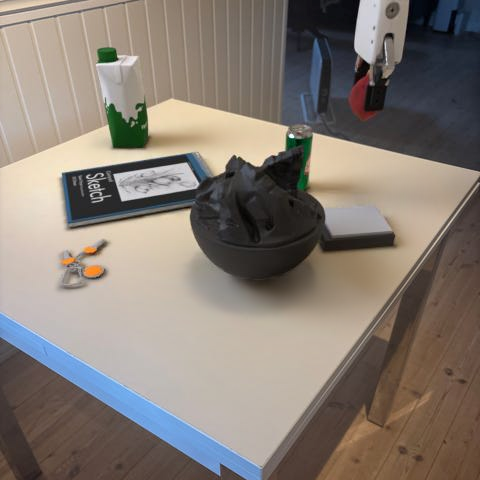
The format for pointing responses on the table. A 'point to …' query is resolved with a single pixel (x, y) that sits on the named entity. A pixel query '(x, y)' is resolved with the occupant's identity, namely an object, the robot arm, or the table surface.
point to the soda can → (304, 137)
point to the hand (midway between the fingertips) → (366, 102)
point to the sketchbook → (132, 188)
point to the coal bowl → (257, 217)
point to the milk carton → (123, 98)
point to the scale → (355, 228)
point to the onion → (360, 99)
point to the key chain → (88, 272)
